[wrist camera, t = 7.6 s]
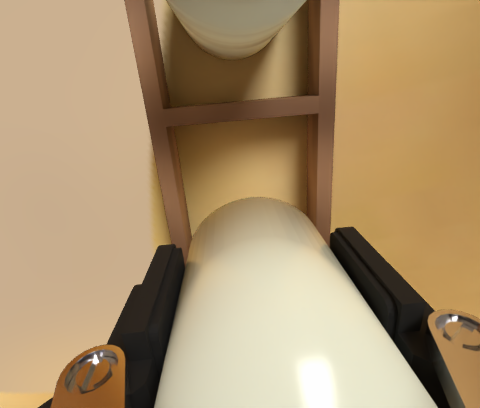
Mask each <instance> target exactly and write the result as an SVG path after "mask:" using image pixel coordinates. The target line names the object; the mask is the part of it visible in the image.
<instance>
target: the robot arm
mask: <svg viewBox="0 0 480 408" xmlns="http://www.w3.org/2000/svg"><path fill="white" fill-rule="evenodd" d="M329 248H330V249H331V251H332V252H333V254H334V255H335V257H336V258H337V260H338V261H339V263H340V264H341V266H342V267H343V269H344V270H345V271H346V273H347V274H348V276H349V277H350V279H351V280H352V282H353V283H354V285H355V286H356V288H357V289H358V291H359V292H360V294H361V295H362V297H363V298H364V299H365V301H366V302H367V304H368V305H369V307H370V308H371V310H372V311H373V313H374V314H375V316H376V317H377V319H378V320H379V322H380V323H381V324H382V326H383V327H384V329H385V330H386V332H387V333H388V335H389V336H390V338H391V339H392V341H393V342H394V344H395V345H396V347H397V348H398V350H399V351H400V352H401V354H402V355H403V357H404V358H405V360H406V361H407V363H408V364H409V366H410V367H411V369H412V370H413V372H414V373H415V375H416V376H417V377H418V379H419V380H420V382H421V383H422V385H423V386H424V388H425V389H426V391H427V392H428V394H429V395H430V397H431V398H432V400H433V401H434V402H435V404H436V405H437V407H438V408H480V319H479V318H477V317H475V316H473V315H470V314H468V313H465V312H462V311H456V310H438V311H434V310H433V308H432V307H431V306H430V305H429V304H428V303H427V302H426V301H425V300H424V299H423V298H422V297H421V296H420V295H419V294H418V293H417V292H416V291H415V290H414V289H413V288H412V287H411V286H410V285H409V284H408V283H407V282H406V281H405V280H404V278H403V277H402V276H401V275H400V274H399V273H398V272H397V271H396V270H395V269H394V268H393V267H392V266H391V265H390V264H389V263H388V262H387V261H386V260H385V259H384V258H383V257H382V256H381V255H380V254H379V253H378V252H377V251H376V250H375V249H374V248H373V247H372V246H371V245H370V244H369V243H368V242H367V241H366V240H365V239H364V238H363V236H362V235H361V234H360V233H359V232H358V231H357V230H356V229H355V228H354V227H344V228H336V229H335V232H334V233H331V234H330V247H329ZM184 271H185V263H184V257H183V252H182V248H176V245H175V244H170V245H160V246H158V248H157V250H156V253H155V255H154V257H153V259H152V262H151V264H150V267H149V269H148V271H147V273H146V276H145V278H144V280H143V283H142V284H140V285H135V286H134V287H133V289H132V291H131V293H130V295H129V298H128V300H127V302H126V304H125V306H124V308H123V310H122V313H121V315H120V317H119V319H118V321H117V323H116V325H115V328H114V330H113V332H112V334H111V336H110V338H109V340H108V343H107V345H100V346H96V347H93V348H91V349H88V350H86V351H84V352H83V353H81V354H80V355H78V356H76V357H75V358H74V359H73V360H72V361H71V362H70V363H69V364H68V365H67V366H66V367H65V369H64V370H63V371H62V373H61V374H60V377H59V379H58V381H57V385H56V388H55V392H54V396H53V397H52V398H51V399H50V400H48V401H47V402H45V403H44V404H43V405H41V406H40V407H38V408H154V405H155V401H156V396H157V392H158V387H159V383H160V378H161V374H162V370H163V365H164V361H165V356H166V352H167V347H168V343H169V338H170V334H171V329H172V325H173V320H174V316H175V311H176V307H177V302H178V298H179V293H180V289H181V284H182V280H183V275H184Z"/></svg>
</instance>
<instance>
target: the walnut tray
mask: <svg viewBox="0 0 480 408" xmlns="http://www.w3.org/2000/svg"><path fill="white" fill-rule="evenodd" d="M124 1H125V5H126V11H127V15H128V21H129V26H130V31H131V37H132V42H133V47H134V52H135V57H136V62H137V68H138V73H139V78H140V83H141V88H142V93H143V98H144V104H145V109H146V113H147V119H148V124H149V129H150V134H151V140H152V145H153V150H154V155H155V160H156V165H157V170H158V176H159V181H160V186H161V191H162V196H163V201H164V206H165V212H166V217H167V222H168V227H169V232H170V237H171V242H172V244H175V245H176V248H182V252H183V257H184V263H185V266H186V262H187V257H188V253H189V249H190V244H191V241H192V236H191V229H190V223H189V217H188V211H187V205H186V199H185V193H184V187H183V180H182V174H181V168H180V162H179V156H178V150H177V144H176V138H175V131H174V126H182V125H193V124H204V123H216V122H227V121H238V120H249V119H260V118H271V117H283V116H294V115H305V114H308V124H307V217H308V218H309V219H310V221H311V222H312V223H313V224H314V226H315V227H316V229H317V230H318V232H319V233H320V235H321V236H322V238H323V239H324V241H325V242H326V244H327V245H328V246H329V247H330V224H331V198H332V173H333V148H334V123H335V98H336V73H337V48H338V23H339V0H308V95H303V96H292V97H281V98H269V99H258V100H247V101H235V102H224V103H213V104H202V105H190V106H179V107H170V101H169V95H168V89H167V82H166V76H165V70H164V64H163V58H162V52H161V46H160V40H159V33H158V27H157V21H156V15H155V10H154V4H153V0H124ZM166 1H167V3H168V4H169V6H170V7H171V9H172V10H173V12H174V13H175V15H176V16H177V18H178V19H179V21H180V22H181V24H182V25H183V27H184V28H185V30H186V32H187V33H188V35H189V36H190V37H191V39H192V40H193V41H194V42H195V43H196V44H197V45H198V46H199V47H200V48H201V49H203V50H204V51H205V52H207V53H209V54H210V55H213V56H215V57H218V58H221V59H227V60H238V59H243V58H246V57H249V56H252V55H254V54H256V53H257V52H259V51H260V50H261V49H263V48H264V47H265V46H266V45H267V44H268V43H269V42H270V41H271V40H272V38H273V37H274V36H275V35H276V34H277V33H278V32H279V31H280V29H281V28H282V27H283V26H284V25H285V24H286V23H287V22H288V21H289V19H290V18H291V17H292V16H293V15H294V14H295V13H296V12H297V10H298V9H299V8H300V7H301V6H302V5H303V4H304V3H305V2H306V0H166Z"/></svg>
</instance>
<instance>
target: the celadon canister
mask: <svg viewBox="0 0 480 408" xmlns="http://www.w3.org/2000/svg"><path fill="white" fill-rule="evenodd" d="M154 408H438V407H437V405H436V404H435V402H434V401H433V400H432V398H431V397H430V395H429V394H428V392H427V391H426V389H425V388H424V386H423V385H422V383H421V382H420V380H419V379H418V377H417V376H416V375H415V373H414V372H413V370H412V369H411V367H410V366H409V364H408V363H407V361H406V360H405V358H404V357H403V355H402V354H401V352H400V351H399V350H398V348H397V347H396V345H395V344H394V342H393V341H392V339H391V338H390V336H389V335H388V333H387V332H386V330H385V329H384V327H383V326H382V324H381V323H380V322H379V320H378V319H377V317H376V316H375V314H374V313H373V311H372V310H371V308H370V307H369V305H368V304H367V302H366V301H365V299H364V298H363V297H362V295H361V294H360V292H359V291H358V289H357V288H356V286H355V285H354V283H353V282H352V280H351V279H350V277H349V276H348V274H347V273H346V271H345V270H344V269H343V267H342V266H341V264H340V263H339V261H338V260H337V258H336V257H335V255H334V254H333V252H332V251H331V249H330V248H329V246H328V245H327V244H326V242H325V241H324V239H323V238H322V236H321V235H320V233H319V232H318V230H317V229H316V227H315V226H314V224H313V223H312V222H311V221H310V219H309V218H308V217H307V216H306V215H305V214H304V213H303V212H302V211H300V210H299V209H297V208H296V207H294V206H292V205H290V204H289V203H286V202H283V201H281V200H277V199H272V198H265V197H251V198H245V199H240V200H236V201H233V202H231V203H228V204H226V205H224V206H222V207H220V208H218V209H217V210H215V211H214V212H213V213H211V214H210V215H209V216H208V217H207V218H206V219H205V220H204V221H203V222H202V223H201V225H200V226H199V227H198V229H197V230H196V232H195V234H194V236H193V238H192V241H191V244H190V249H189V253H188V257H187V262H186V266H185V271H184V275H183V280H182V284H181V289H180V293H179V298H178V302H177V307H176V311H175V316H174V320H173V325H172V329H171V334H170V338H169V343H168V347H167V352H166V356H165V361H164V365H163V370H162V374H161V378H160V383H159V387H158V392H157V396H156V401H155V405H154Z"/></svg>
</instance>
